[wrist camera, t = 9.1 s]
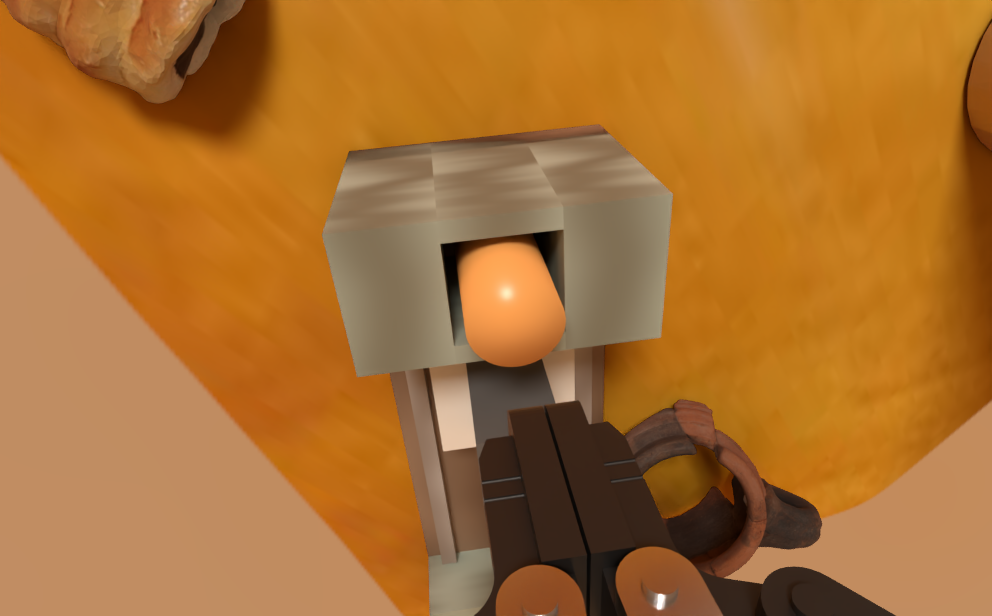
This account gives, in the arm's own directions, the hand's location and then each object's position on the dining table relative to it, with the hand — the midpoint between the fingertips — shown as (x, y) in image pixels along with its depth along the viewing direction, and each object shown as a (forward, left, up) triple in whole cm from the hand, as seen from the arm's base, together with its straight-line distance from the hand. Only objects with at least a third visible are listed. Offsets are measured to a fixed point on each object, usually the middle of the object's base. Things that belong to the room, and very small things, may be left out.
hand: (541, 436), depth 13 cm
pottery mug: (-10, +18, -15) cm, 25 cm away
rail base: (0, +12, -15) cm, 19 cm away
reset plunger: (0, 0, -11) cm, 11 cm away
